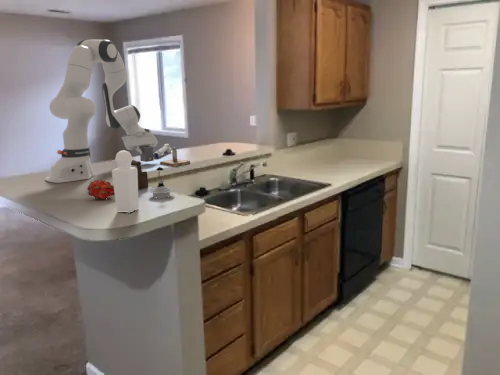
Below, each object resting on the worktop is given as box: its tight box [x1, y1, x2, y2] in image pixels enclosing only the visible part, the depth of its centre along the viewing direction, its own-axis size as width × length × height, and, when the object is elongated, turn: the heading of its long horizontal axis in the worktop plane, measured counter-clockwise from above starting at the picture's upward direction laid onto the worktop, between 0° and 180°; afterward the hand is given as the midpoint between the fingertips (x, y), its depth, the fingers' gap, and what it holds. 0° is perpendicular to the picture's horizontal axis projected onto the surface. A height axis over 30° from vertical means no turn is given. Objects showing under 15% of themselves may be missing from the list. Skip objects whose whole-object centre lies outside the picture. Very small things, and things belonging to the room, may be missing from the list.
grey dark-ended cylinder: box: [153, 143, 172, 159], centre depth 277 cm, size 5×7×25 cm
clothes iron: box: [131, 159, 149, 190], centre depth 192 cm, size 8×16×13 cm, turn 44°
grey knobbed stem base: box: [148, 166, 175, 199], centre depth 174 cm, size 12×10×10 cm
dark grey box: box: [139, 146, 155, 163], centre depth 245 cm, size 5×6×8 cm
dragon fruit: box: [87, 179, 115, 200], centre depth 172 cm, size 8×8×12 cm
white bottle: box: [111, 149, 140, 212], centre depth 153 cm, size 6×6×22 cm
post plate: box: [159, 146, 191, 168], centre depth 246 cm, size 12×12×10 cm
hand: (147, 152), depth 245 cm, fingers closed on dark grey box, 5 cm apart
